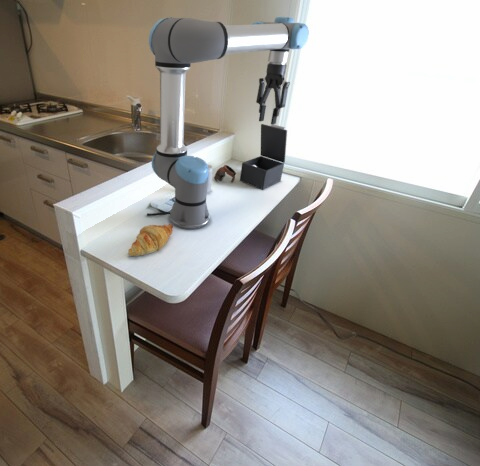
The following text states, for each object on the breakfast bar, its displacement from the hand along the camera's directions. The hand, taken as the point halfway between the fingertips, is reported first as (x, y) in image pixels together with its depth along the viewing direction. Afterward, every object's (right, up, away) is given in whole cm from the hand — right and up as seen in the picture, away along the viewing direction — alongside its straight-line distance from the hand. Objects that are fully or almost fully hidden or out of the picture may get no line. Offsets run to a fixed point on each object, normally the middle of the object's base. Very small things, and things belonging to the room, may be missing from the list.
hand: (267, 122), depth 142 cm
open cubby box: (+1, -23, +17) cm, 29 cm away
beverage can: (-28, -30, +4) cm, 41 cm away
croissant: (-47, -53, -33) cm, 78 cm away
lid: (+5, -6, +11) cm, 14 cm away
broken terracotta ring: (-18, -23, +16) cm, 33 cm away
